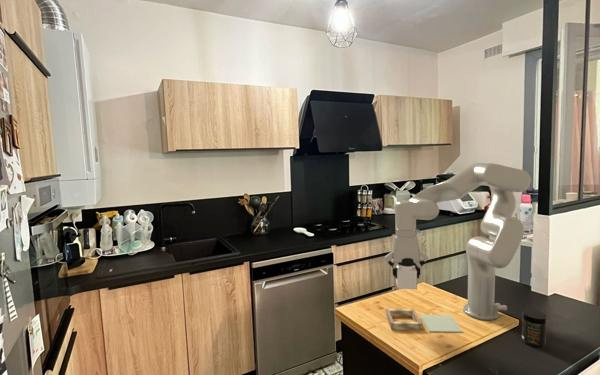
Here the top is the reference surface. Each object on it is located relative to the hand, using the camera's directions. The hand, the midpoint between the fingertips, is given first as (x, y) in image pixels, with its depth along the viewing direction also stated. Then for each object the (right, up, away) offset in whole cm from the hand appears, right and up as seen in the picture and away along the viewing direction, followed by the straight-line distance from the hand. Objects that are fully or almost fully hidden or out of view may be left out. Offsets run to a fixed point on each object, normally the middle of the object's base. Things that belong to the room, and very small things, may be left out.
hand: (406, 276), depth 126 cm
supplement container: (+39, -19, -15) cm, 46 cm away
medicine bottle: (0, -4, 0) cm, 4 cm away
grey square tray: (-1, -18, +2) cm, 19 cm away
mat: (+13, -18, 0) cm, 22 cm away
